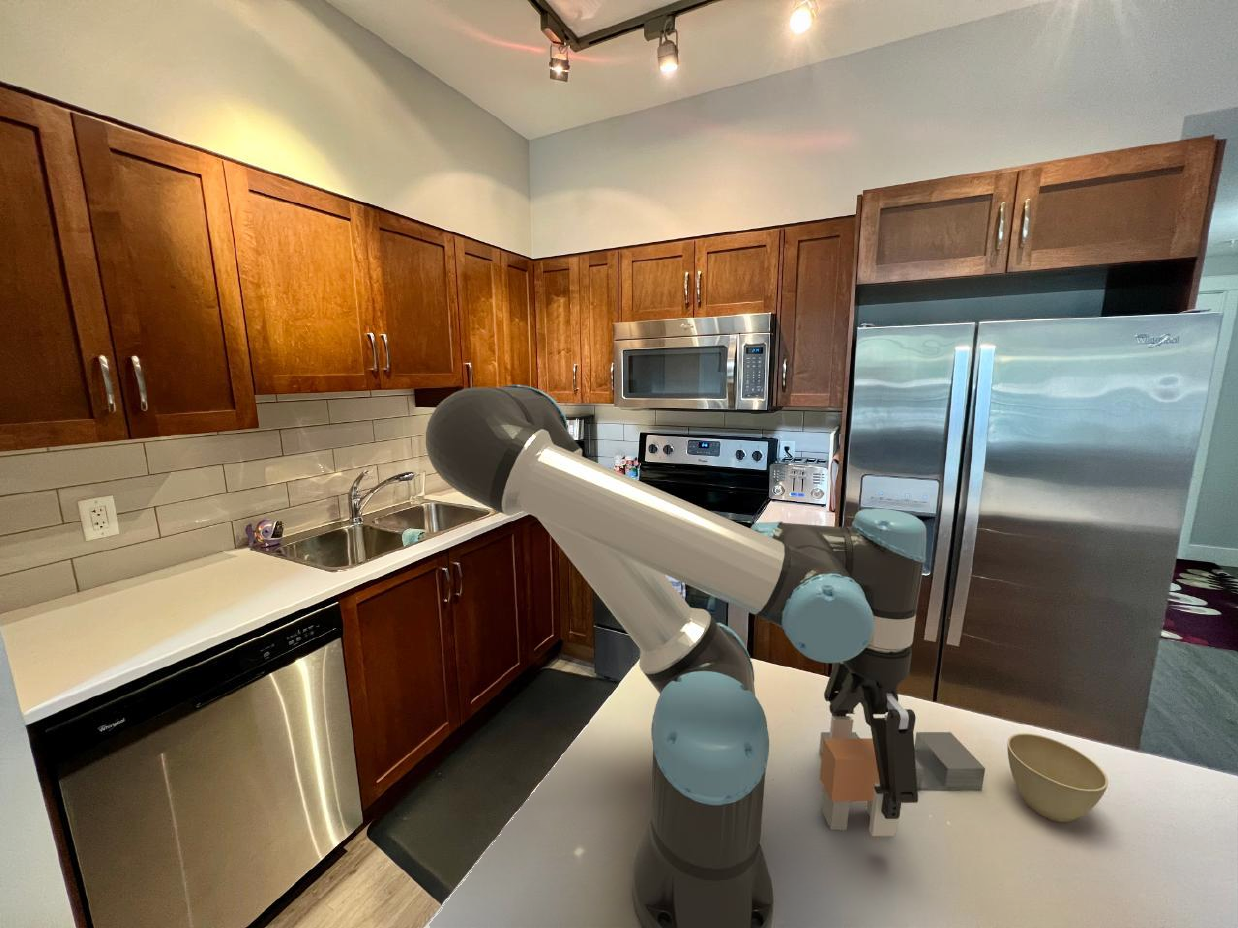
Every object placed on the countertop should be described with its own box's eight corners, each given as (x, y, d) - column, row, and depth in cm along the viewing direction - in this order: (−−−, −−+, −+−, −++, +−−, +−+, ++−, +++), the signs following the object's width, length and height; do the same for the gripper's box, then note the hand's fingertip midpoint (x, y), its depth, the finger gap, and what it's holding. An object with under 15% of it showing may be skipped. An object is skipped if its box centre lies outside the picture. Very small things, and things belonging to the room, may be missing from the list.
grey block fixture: (840, 790, 68) (842, 768, 67) (819, 752, 74) (821, 732, 74) (981, 790, 68) (985, 768, 67) (947, 752, 75) (950, 732, 74)
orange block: (828, 831, 61) (835, 759, 59) (816, 807, 65) (823, 738, 63) (898, 831, 61) (908, 759, 60) (883, 807, 65) (891, 738, 63)
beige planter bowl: (1119, 847, 60) (1130, 797, 58) (1027, 831, 62) (1036, 782, 60) (1064, 782, 69) (1072, 738, 68) (985, 770, 71) (992, 727, 70)
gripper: (978, 699, 48) (947, 884, 52) (859, 594, 70) (844, 728, 74) (902, 699, 47) (877, 884, 51) (807, 594, 70) (795, 728, 74)
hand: (858, 792), depth 63 cm, fingers open, 10 cm apart
